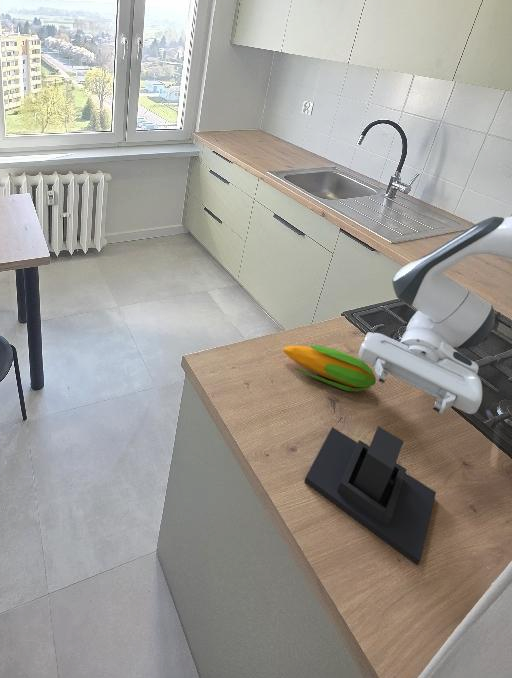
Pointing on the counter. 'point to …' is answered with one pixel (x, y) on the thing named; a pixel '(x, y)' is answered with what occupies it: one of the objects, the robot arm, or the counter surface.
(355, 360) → the corn
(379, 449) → the upright pad
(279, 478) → the counter surface
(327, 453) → the base pad
